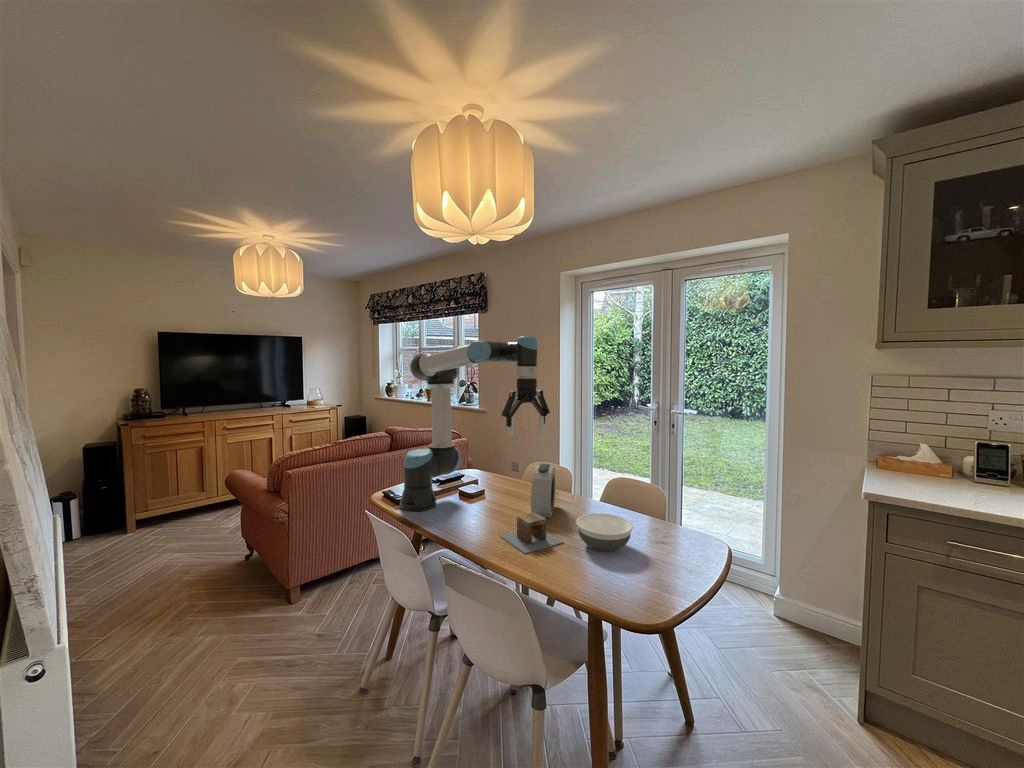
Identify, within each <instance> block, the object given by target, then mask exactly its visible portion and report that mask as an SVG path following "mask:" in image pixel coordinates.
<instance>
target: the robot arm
mask: <svg viewBox="0 0 1024 768" xmlns="http://www.w3.org/2000/svg"><path fill="white" fill-rule="evenodd" d="M487 362H492V363H493V362H494V363H495V362H501V363H505V362H506V363H507V362H511V363H514V362H516V377H517V379H516V391H515V390H510V391H509V394H508V398H507V400H506V404H505V406H504V408H503V411H502V413H501V416H502V417H504V418H506V422H505V423H506V427H507V435H508V436H510V437H514V433H515V431H514V430H515V428H514V427H515V424H514V423H515V420H514V419H515V418H514V417H513V416H514V415H515V414H516V412H517V411H518V410H519V408H520V406H521V405H522V404H523V403H524V404H527V403H530V404H532V406H534V408H535V409H536V411H537V413H538V414H539V415H538V416H537V433H541V434H544V427H545V424H546V417H547V416H548V414H550V413H551V412H550V409H549V407H548V404H547V402H546V399H545V396H544V391H543V390H542V389H537V388H538V387H537V386H538V381H537V378H536V377H538V364H537V363H538V339H537V337H536V336H529V335H528V336H524V335H523V336H518V337H517V340H516V341H514V342H513V341H508V342H507V341H492V340H491V341H489V340H481V339H480V340H472V341H471V342H470V344H467V345H463V346H459V347H454V348H451V349H447V350H443V351H440V352H435V353H430V352H426V353H422V354H421V353H420V354H418V355H415V356H414V357H413V358H412V360H411V362H410V365H409V367H410V372H411V374H412V375H413V377H414V378H416V379H417V380H420V381H423V382H424V381H425V382H427V386H428V387H429V388H430V391H431V394H430V395H431V397H430V398H431V401H430V402H431V433H432V434H431V435H432V441H431V443H430V444H429V446H428V448H417V449H413V450H410V451H408V452H406V454H405V455H404V458H403V486H404V487H403V491H402V494H401V496H400V500H399V507H400V509H401V510H404V511H407V512H423V511H428V510H431V509H433V508H435V507H436V506H437V498H436V494H435V492H434V489H433V479H434V478H437V477H441V476H446V475H450V474H451V473H454V472H456V471H457V470H458V469H459V467H460V466H461V462H462V455H461V452H460V450H459V448H457V447H456V443H454V441H453V440H452V439H453V437H452V433H453V432H452V431H453V430H452V397H451V395H452V394H451V391H452V387H453V386H454V384H455V383H454V382H455V380H456V379H457V377H458V375H459V373H460V368H461V367H467V366H471V365H475V364H476V365H477V364H481V363H487ZM516 397H517V398H516ZM536 397H537V398H536Z"/></svg>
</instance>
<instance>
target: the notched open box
mask: <svg viewBox="0 0 1024 768" xmlns="http://www.w3.org/2000/svg"><path fill="white" fill-rule="evenodd" d="M516 524H517V525H516V531H517V538H519V539H520V540H522V541H523V542H525V543H526V544H528V545H529V544H532V535H534V536H535V537H537V538H539V539H540V540H542V541H544V540H546V532H547V518H544V517H542V516H540V515H538V514H537V513H532V512H531V513H527V514H521V515H518V516H517V517H516Z"/></svg>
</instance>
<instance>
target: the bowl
mask: <svg viewBox="0 0 1024 768" xmlns="http://www.w3.org/2000/svg"><path fill="white" fill-rule="evenodd" d="M575 523H576V525H577V529H578V535H579V537H580V539H581V540H582V542H584V543H585V544H586V545H587V546H589V547H591V548H592V550H595V551H596V552H599V553H613V552H616V550H619V549H622V548H623V547H624V546H626V545H627V544H628V542H629V540H630V539H631V534H632V531H633V529H634V526H633V523H632V522H631V521H630V520H628V519H627V518H624V517H622V516H620V515H616V514H611V513H602V512H601V513H598V512H597V513H595V512H594V513H586V514H584V515H581V516H579V517H578V518H577V519H576V521H575Z"/></svg>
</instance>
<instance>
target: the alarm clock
mask: <svg viewBox="0 0 1024 768" xmlns="http://www.w3.org/2000/svg"><path fill="white" fill-rule="evenodd" d="M530 492H531V493H530V511H531V513H537V514H538V515H540V516H542V517H544V518H546V519H551V518H552V516H553V512H554V508H555V503H556V502H555V501H556V469H555V466H550V464H549V463H540V464H539V465H535V467H534V468H533V472H532V479H531V491H530Z"/></svg>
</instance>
